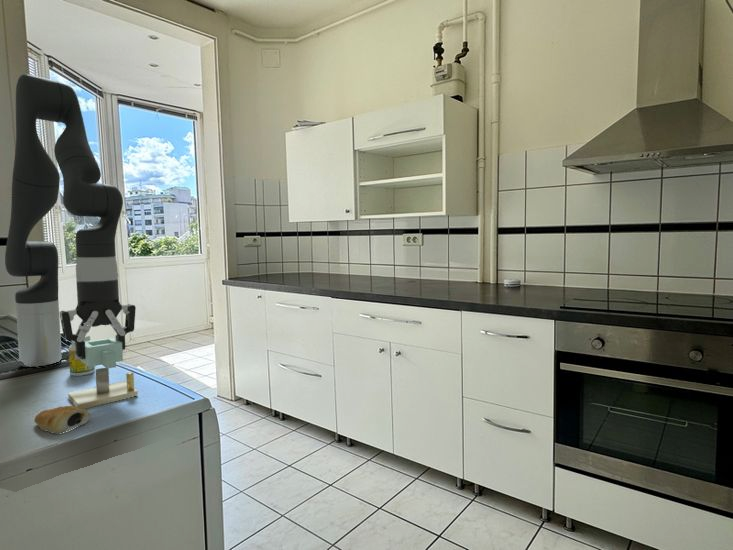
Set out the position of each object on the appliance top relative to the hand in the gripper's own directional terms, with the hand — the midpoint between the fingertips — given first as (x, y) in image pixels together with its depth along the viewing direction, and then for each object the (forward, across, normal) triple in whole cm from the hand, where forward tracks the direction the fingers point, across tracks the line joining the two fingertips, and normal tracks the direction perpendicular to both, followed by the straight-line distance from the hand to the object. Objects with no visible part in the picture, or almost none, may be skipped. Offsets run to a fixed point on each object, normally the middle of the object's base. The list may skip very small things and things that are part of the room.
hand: (101, 355), depth 93 cm
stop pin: (+8, -5, +3) cm, 10 cm away
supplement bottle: (+9, -1, -23) cm, 25 cm away
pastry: (+10, +10, +10) cm, 17 cm away
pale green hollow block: (+1, 0, +2) cm, 2 cm away
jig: (+9, 0, 0) cm, 9 cm away
